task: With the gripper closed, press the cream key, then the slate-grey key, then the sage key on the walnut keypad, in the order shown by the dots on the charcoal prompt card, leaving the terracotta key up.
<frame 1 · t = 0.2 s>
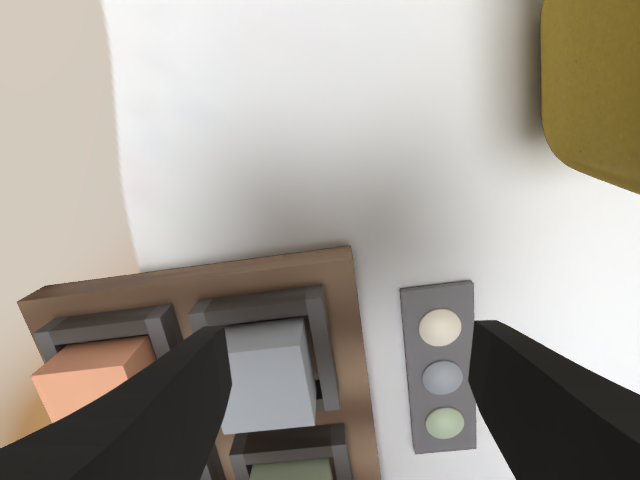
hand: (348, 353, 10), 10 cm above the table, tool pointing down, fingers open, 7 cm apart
keypad: (228, 394, 23), on the table
flower pot: (593, 61, 17), on the table
prompt card: (439, 372, 22), on the table
key terracotta: (107, 391, 18), point 4 cm above the table, slide at 0.0 cm
key slate: (264, 374, 17), point 4 cm above the table, slide at 0.0 cm
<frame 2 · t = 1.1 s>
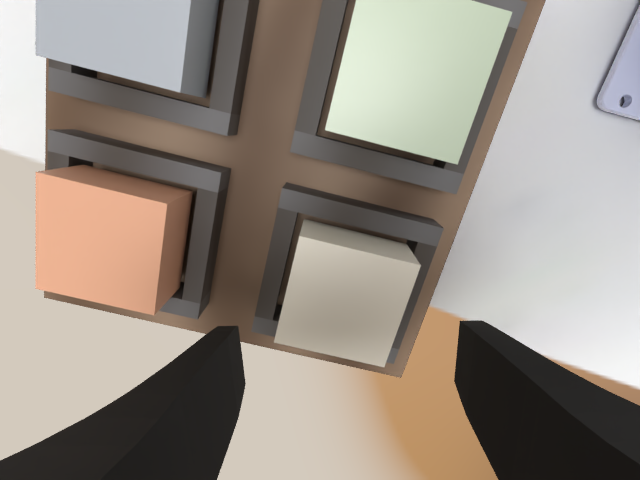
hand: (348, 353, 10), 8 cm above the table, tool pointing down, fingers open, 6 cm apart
keypad: (269, 155, 17), on the table
key cream: (343, 291, 14), point 4 cm above the table, slide at 0.0 cm
key sage: (405, 79, 12), point 4 cm above the table, slide at 0.0 cm
key terracotta: (117, 238, 14), point 4 cm above the table, slide at 0.0 cm
key slate: (135, 5, 11), point 4 cm above the table, slide at 0.0 cm
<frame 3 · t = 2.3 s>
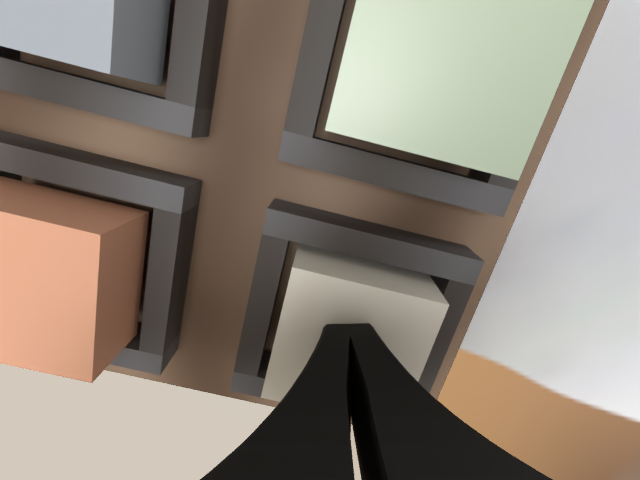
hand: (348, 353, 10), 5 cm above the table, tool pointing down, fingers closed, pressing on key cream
keypad: (255, 161, 13), on the table
key cream: (347, 330, 11), point 3 cm above the table, slide at 0.8 cm, touching gripper
key sage: (441, 56, 8), point 4 cm above the table, slide at 0.0 cm
key terracotta: (45, 275, 10), point 4 cm above the table, slide at 0.0 cm
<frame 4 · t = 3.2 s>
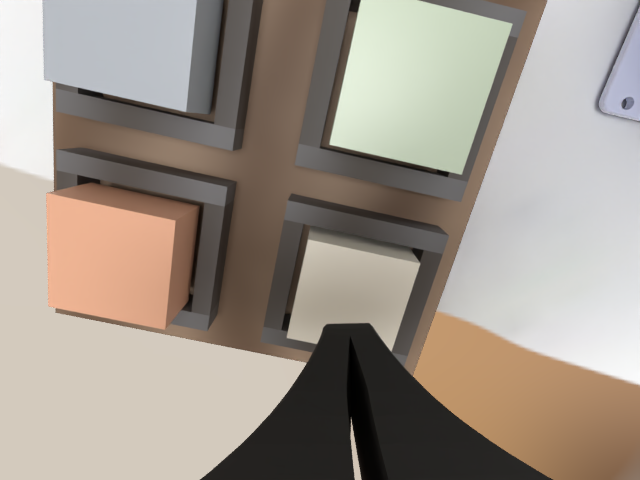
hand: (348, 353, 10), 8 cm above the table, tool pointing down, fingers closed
keypad: (273, 166, 17), on the table
key cream: (349, 289, 15), point 3 cm above the table, slide at 1.1 cm
key sage: (407, 91, 12), point 4 cm above the table, slide at 0.0 cm
key terracotta: (127, 254, 14), point 4 cm above the table, slide at 0.0 cm
key slate: (139, 27, 12), point 4 cm above the table, slide at 0.0 cm
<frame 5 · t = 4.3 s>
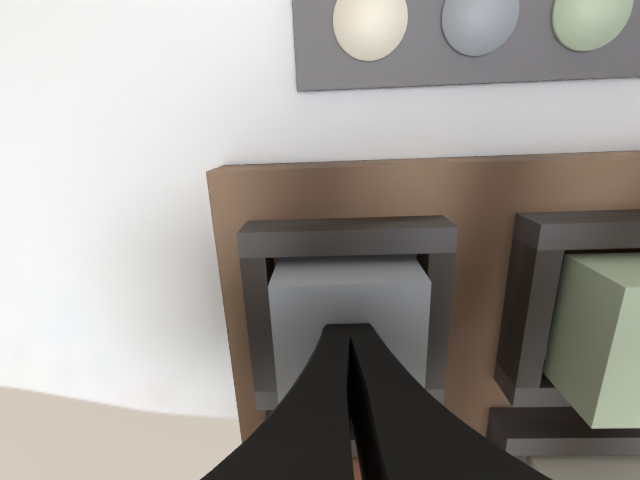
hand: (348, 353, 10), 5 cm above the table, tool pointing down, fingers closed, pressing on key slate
keypad: (445, 361, 16), on the table
prompt card: (473, 19, 12), on the table
key slate: (347, 331, 11), point 4 cm above the table, slide at 0.6 cm, touching gripper
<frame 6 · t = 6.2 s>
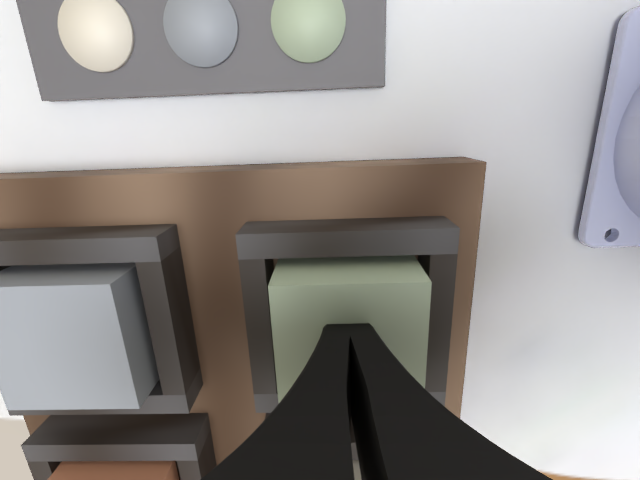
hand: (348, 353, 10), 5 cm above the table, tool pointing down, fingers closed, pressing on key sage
keypad: (246, 366, 16), on the table
prompt card: (206, 30, 12), on the table
key sage: (348, 331, 11), point 4 cm above the table, slide at 0.7 cm, touching gripper
key slate: (81, 330, 12), point 3 cm above the table, slide at 1.1 cm
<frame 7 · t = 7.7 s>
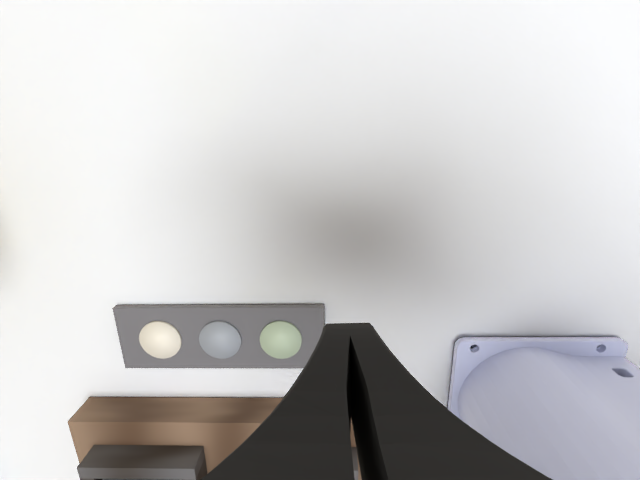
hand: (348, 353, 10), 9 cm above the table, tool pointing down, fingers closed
prompt card: (222, 335, 21), on the table
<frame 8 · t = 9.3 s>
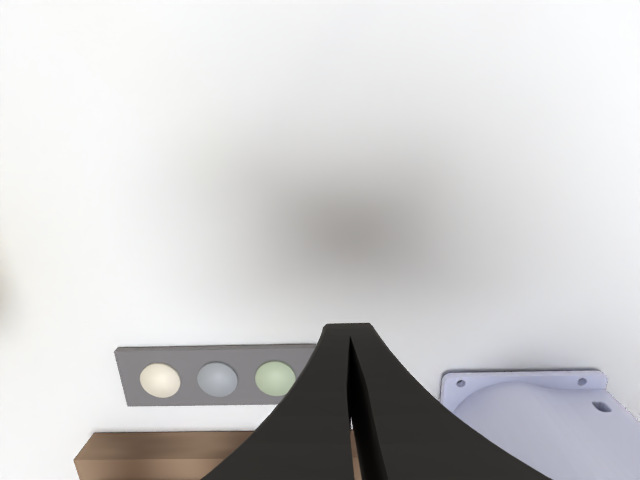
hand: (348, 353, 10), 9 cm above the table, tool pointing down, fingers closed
prompt card: (220, 373, 22), on the table
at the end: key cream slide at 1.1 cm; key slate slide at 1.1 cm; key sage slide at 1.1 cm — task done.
